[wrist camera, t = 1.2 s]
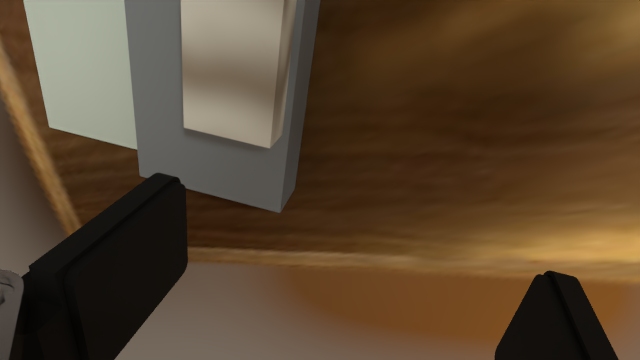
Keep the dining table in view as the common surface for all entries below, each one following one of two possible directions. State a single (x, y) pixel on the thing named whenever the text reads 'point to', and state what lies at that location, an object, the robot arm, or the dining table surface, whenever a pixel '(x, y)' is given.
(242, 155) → the slate deck
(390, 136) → the dining table surface
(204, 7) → the cream tile
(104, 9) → the sage mat
